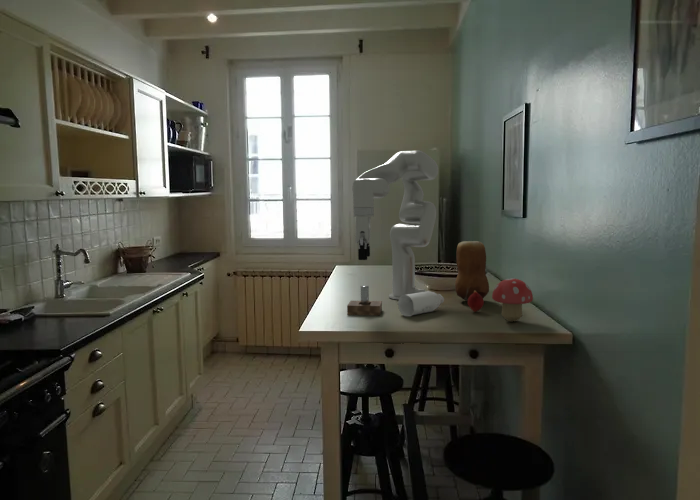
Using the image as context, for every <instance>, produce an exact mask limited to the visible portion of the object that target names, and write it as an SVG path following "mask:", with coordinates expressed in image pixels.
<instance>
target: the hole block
mask: <svg viewBox="0 0 700 500" xmlns="http://www.w3.org/2000/svg"><path fill="white" fill-rule="evenodd" d="M346 306H347V310H346V314H347V316H348V315H349V316H376V317H377V316H381V313H382V312H383V311H382V310H383V301H382V300H369V305H361V300H350V301H349V303H348V304H347V305H346Z"/></svg>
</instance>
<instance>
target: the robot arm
mask: <svg viewBox="0 0 700 500" xmlns="http://www.w3.org/2000/svg"><path fill="white" fill-rule="evenodd" d="M438 174H439V166H438V164H437V161H436V160H434V158H432V157H431V156H430V155H429V154H427V153H426V152H424V151H422V150H419V149H417V150H414V149H413V150H401V151H398V152H395V154H394V155H392V157H390V158H389V159H388V160H387V161H386V162H384V164H381V165H378V166H376V167H373V168H372V169H369V170H367V171H365V172H363V173H362V174H360V175H359V176H358V177H357V178H356V179H354V180H353V182H352V199H353V201H352V203H353V204H352V205H353V207H352V208H353V209H352V210H353V211H352V212H353V218H354V217H355V229H354V230H355V235H354V236H355V244H358V249H357V252H358V255H357V256H358V258H357V259H358V260H359V261H367V260H368V257H370V256H371V246H370V242H371V237H372V231H371V230H372V221H371V220H372V217H374V216H375V213H374V207H375V206H374V205H375V204H374V199H383V198H385V197H387V196H388V195H389V194H390V193H389V192H390V184H393V183H396V182H397V181H399V180H400V179H401V182H402V185H403V189H404V190H403V198H402V200H401V205H400V208H399V213H398V218H399V220H400V221H401V222H402V223H397V224H393V225H392V226H391V228H390V231H389V239H390V240H389V241H390V245H391V253H392V255H391V257H392V258H391V260H392V261H391V264H392V265H391V266H392V267H391V269H392V271H391V274H392V276H391V277H392V284H391V287H392V288H391V289H392V291H391V293H389V294H388V298H389V299H392V300H397V301H398V300H399V297H401V296H402V295H407V294H413V293H419V292H425V291H426V288H425V289H424V288H417V287H416V285H415V284H416V283H415V281H416V279H415V278H416V277H415V275H416V274H415V273H416V271H415V270H416V269H415V267H416V266H415V263H416V262H415V261H416V257H415V253H414V251H413V249H412V248H411V247H415V248H424V247H427V246H428V245H429V244H430V242H431V239H432V235H433V232H434V226H435V224H436V218H437V208H436V205H435V204H434V203H433V202H431V201H427V200H424V191H423V188H422V186H421V185H420V184H419V183H418V181H433V180H435V179H436V178H437V177H438Z"/></svg>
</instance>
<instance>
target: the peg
mask: <svg viewBox="0 0 700 500" xmlns="http://www.w3.org/2000/svg"><path fill="white" fill-rule="evenodd" d="M369 290H370V289H369V285H360V301H361V305H369V301H370V299H369V298H370V294H369V292H370V291H369Z"/></svg>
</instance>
